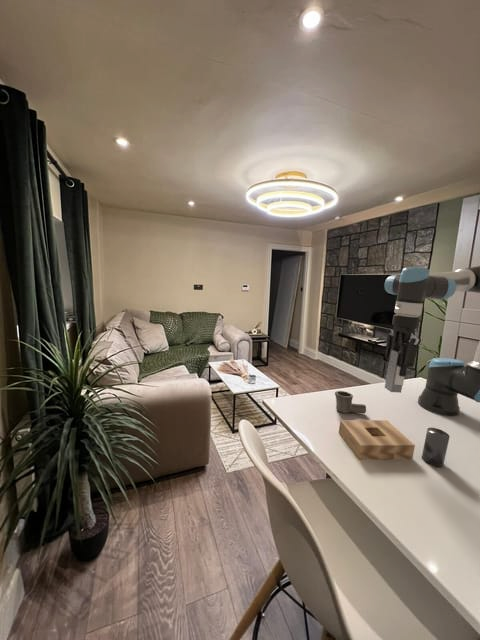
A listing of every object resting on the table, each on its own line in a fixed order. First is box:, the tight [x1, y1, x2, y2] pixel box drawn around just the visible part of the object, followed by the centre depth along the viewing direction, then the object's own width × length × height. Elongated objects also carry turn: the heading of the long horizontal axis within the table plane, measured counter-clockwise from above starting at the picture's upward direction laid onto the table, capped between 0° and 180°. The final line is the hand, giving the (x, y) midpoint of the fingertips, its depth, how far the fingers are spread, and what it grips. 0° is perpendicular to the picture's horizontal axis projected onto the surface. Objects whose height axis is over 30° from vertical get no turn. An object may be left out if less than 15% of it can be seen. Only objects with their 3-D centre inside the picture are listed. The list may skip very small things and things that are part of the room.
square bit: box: [384, 350, 403, 394], centre depth 89 cm, size 4×4×14 cm
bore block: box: [338, 419, 416, 461], centre depth 89 cm, size 18×14×5 cm
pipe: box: [334, 390, 367, 415], centre depth 110 cm, size 6×13×8 cm, turn 78°
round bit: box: [421, 427, 451, 469], centre depth 82 cm, size 6×6×10 cm
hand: (394, 381), depth 90 cm, fingers closed on square bit, 4 cm apart
